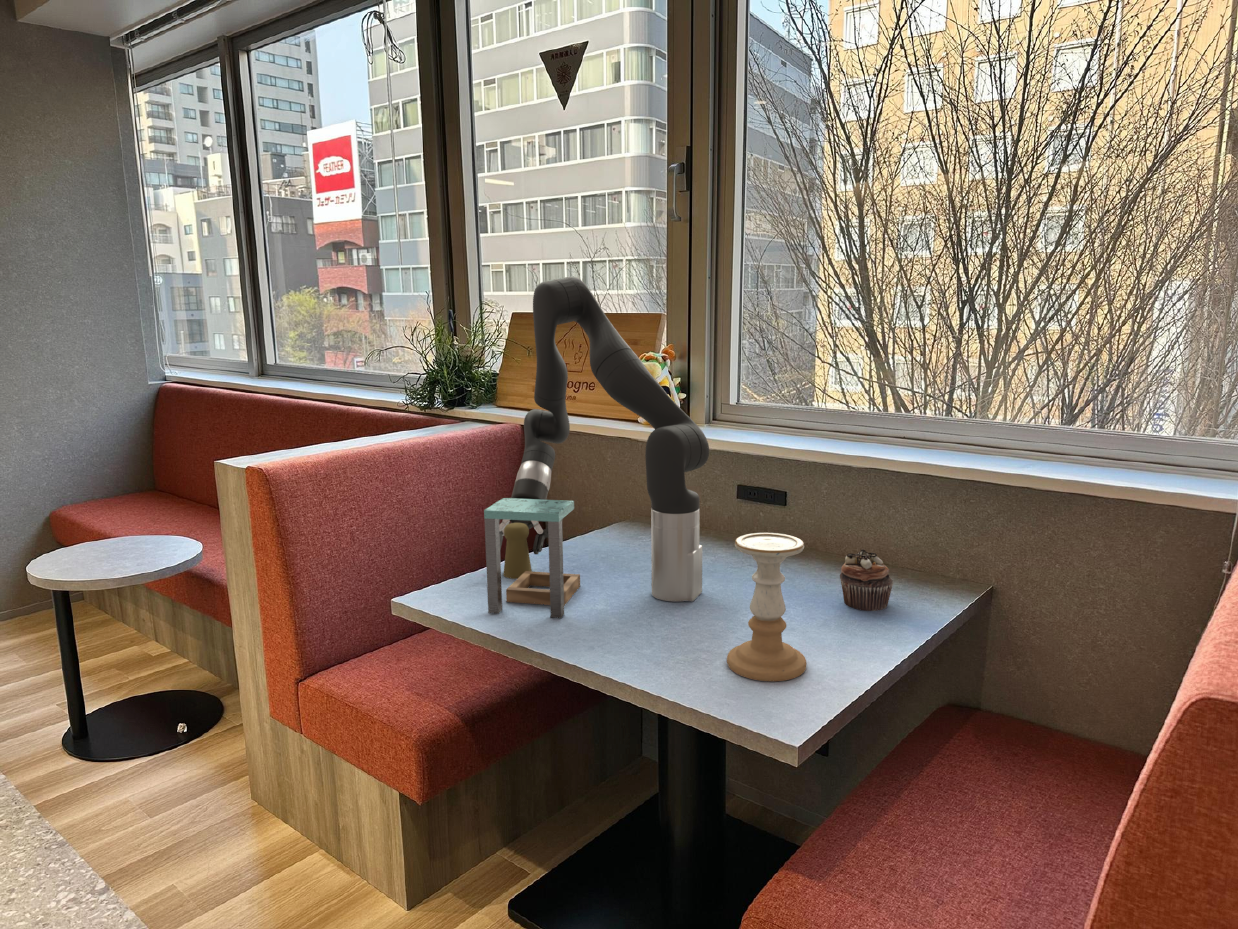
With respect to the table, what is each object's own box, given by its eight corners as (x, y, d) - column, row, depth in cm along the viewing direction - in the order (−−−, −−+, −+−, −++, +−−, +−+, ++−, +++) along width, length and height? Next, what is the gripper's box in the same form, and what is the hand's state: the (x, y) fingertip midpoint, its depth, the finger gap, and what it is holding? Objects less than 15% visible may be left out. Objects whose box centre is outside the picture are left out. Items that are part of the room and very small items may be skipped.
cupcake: (878, 616, 153) (880, 563, 151) (829, 604, 159) (831, 553, 158) (901, 603, 160) (904, 551, 158) (853, 591, 166) (856, 542, 165)
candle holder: (713, 671, 131) (715, 545, 127) (745, 644, 141) (747, 526, 138) (789, 689, 125) (793, 557, 121) (817, 659, 135) (821, 537, 131)
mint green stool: (507, 595, 166) (503, 497, 163) (576, 599, 163) (573, 500, 160) (488, 613, 157) (484, 510, 153) (561, 618, 154) (558, 513, 150)
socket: (526, 582, 174) (525, 571, 173) (580, 586, 171) (580, 574, 171) (506, 602, 163) (506, 589, 162) (564, 606, 160) (564, 593, 160)
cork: (527, 579, 176) (525, 528, 174) (499, 578, 177) (497, 526, 175) (535, 570, 181) (534, 520, 179) (508, 569, 183) (507, 519, 181)
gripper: (496, 475, 185) (478, 541, 176) (559, 478, 182) (544, 544, 173) (505, 494, 191) (488, 558, 182) (566, 496, 188) (552, 562, 179)
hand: (515, 551), depth 178 cm, fingers open, 8 cm apart
